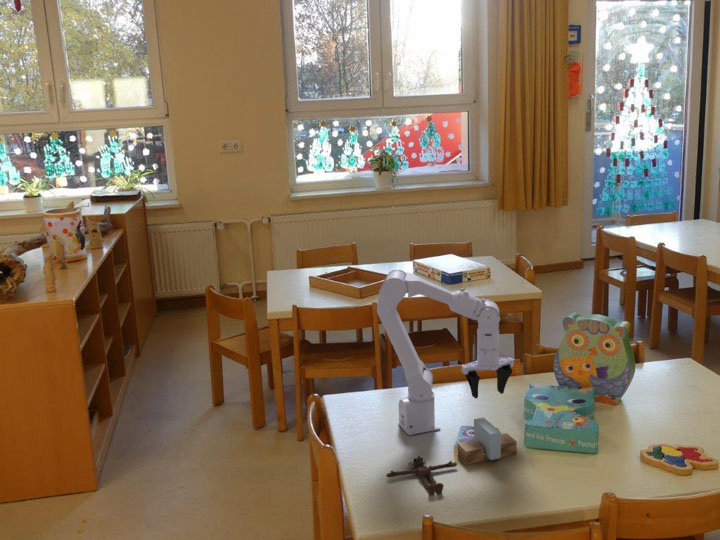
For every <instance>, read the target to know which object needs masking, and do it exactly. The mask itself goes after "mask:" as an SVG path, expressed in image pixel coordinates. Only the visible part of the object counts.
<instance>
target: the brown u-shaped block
mask: <svg viewBox="0 0 720 540" xmlns="http://www.w3.org/2000/svg"><path fill="white" fill-rule="evenodd" d="M517 444H518V443H517V440H516V439H515V438H513V437H512V436H511V435H510V434H508V433H507V432H505V433H504V432H503V433H501V458H503V457H510V456H513V455H517V453H518V451H517V449H518V448H517V447H518V446H517ZM456 445H457V451H458V455H457V457H459V459H460V458H461V459H462V460H463V461H464V462H465V463H466V464H465V463H464V462H463V461H462V462H463V463H464V464H465V465H470V463H471V464H475V463H479V462H485V461H488V460H487V459H489V458H488V457H487V456H486V455H484V447H483V446H482V445H480V444H479V443H478V442H477V441H476V440H475V439H474V438H473V439H470V440H469V439H468V440H465V441H464V440H463V441H460V442H457V444H456ZM461 459H460V460H461ZM484 460H485V461H484Z"/></svg>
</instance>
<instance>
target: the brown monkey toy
mask: <svg viewBox="0 0 720 540" xmlns="http://www.w3.org/2000/svg"><path fill="white" fill-rule="evenodd" d="M426 463H427V461H426V460H425V459H424V458H423V457H421V455H420V456H419V455H418V456H417V458H413V460H412V461H411V462H410V461H409V462H408V463H407V465H408V466H409V467H412V468H413V469H408V470H407V469H406V470H401V471H393V470H390V472H389V473H386V478H395V477H399V476H407V475H414V474H417V475H418V477H419V479H420V480H421V482H422V483H423V485H424V488H425V489H426V490H427V493H428V495H429V496H434V495H435V492H436V494H437V495H441V494H442V493H443V490H444V484H443V483H442V482H438V483H437V481H436V480H435V478H434V477H433V475H432V471H436V470H441V469H446V468H447V469H448V468H454V467H457V466H458V463H457V462H455V461H454V462H452V460H449V462H447V463H444V464H437V465H433V466H432V465H428V466H426ZM428 480H429V481H430V483H431V484H430V483H429V481H428Z"/></svg>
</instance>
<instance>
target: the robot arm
mask: <svg viewBox="0 0 720 540" xmlns="http://www.w3.org/2000/svg"><path fill="white" fill-rule="evenodd" d="M406 294H407V298H411V297H415V296H418V295H420V296H424V297H426V298H429V299H431V300H435V301H437V302H440V303H444V304H446V305H448V306H449V307H448V308H449V310H450V311H451V312H454V313H456V314H458V315H461V316H463V317H466V318H469V319H471V320H473V321H474V320H476V321H477V323H478V325H477V327H478V328H477V331H476V335H477V336H476V360H475V361H472V362H468V363H467V364H466V363H465V364H462V365H461V372H462V374H463V375H464V376H465V378H466V380H467V383H468V385H469V388H470V392H471V396H472V397H473V398H474V399H478V397H479V383H480V379H481V377H480V376H479V375H478V372H482V371H487V370H488V371H489V370H490V371H496V384H497V385H496V388H497V390H496V391H497V392H498V393H499V394H503V395H504V391H505V388H506V386H507V382H508V381H509V378H510V377H511V375H512V374H513V368H511V367H514V366H515V359H514V358H512V357H500V356H499V355H500V329H499V328H500V321H501V317H500V308H499V306H498V305H497V303H496V302H495V301H493V300H492V299H485V298H483V297H481V298H479V297H476V296H475V295H472V294H469V290H465V289H464V290H457V291H454V292H453V291H449V290H448V289H446V288H444V287H441V286H440V285H437V284H434V283H432V282H430V281H429V280H426V279H424V278H422V277H420V276H417V275H416V274H413V272H412V273H411V272H407V273H406V271H404V270H402V269H399V268H398V269H392V270H390V271H389V272H388V273H387V275H386V277H385V279H384V280H383V282H382V284H381V287H380V289H379V293H378V298H377V304H376V313H377V315H378V317H379V320H380V322H381V324H382V326H383V328H384V329H385V332H386V335H387V337H388V339H389V341H390V344H391V345H392V346H393V350H394V351H395V354H396V355H397V358H398V359H399V362H400V364H401V366H402V368H403V372H404V377H405V381H406V383H407V386H408V387H407V391H408V392H407V396H405V397H404V398H401V399H399V401H398V422H397V423H398V425H399V426H400V427H401V429H402V430H403V431H404V432H405V433H406V434H407V435H408V436H412V435H417V434H422V433H427V432H429V433H430V432H433V431H439V430H441V426H439V425H438V423H437V422H436V419H435V418H436V417H435V415H436V414H435V409H436V408H435V406H436V405H435V393H434V391H433V390H432V387H433V382H434V374H433V373H432V371H431V370H430V369H429V368H427V367H426V365H425V363H424V362H423V361H422V360H421V359H420V357H419V356H418V353H417V351H416V349H415V346H414V344H413V343H412V342H413V341H412V340H411V338H410V336H409V333H408V332H407V331H408V330H407V329H406V327H405V325H404V323H403V320H402V319H401V316H400V314H399V312H398V310H397V307H398V305H399V303H400V302H401V301H402V300H403V299H404V298H405V296H406Z"/></svg>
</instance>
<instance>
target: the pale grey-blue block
mask: <svg viewBox="0 0 720 540" xmlns="http://www.w3.org/2000/svg"><path fill="white" fill-rule="evenodd" d="M501 434H502V433H501V431H500V430H499V429H498V428H497V427H495V426H494V425H493V424H492V423H491V422H489V420H487V419H486V418H485V417H479V418H474V419H473V440H474V439H475V440H476V441H477V442H478V443H479V444H480V445H482V446H483V447H484V454H485V455H486V456H487V457H488V458H489V459H490V460H489V461H493V460H498V459H501V458H502V457H501Z"/></svg>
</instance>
